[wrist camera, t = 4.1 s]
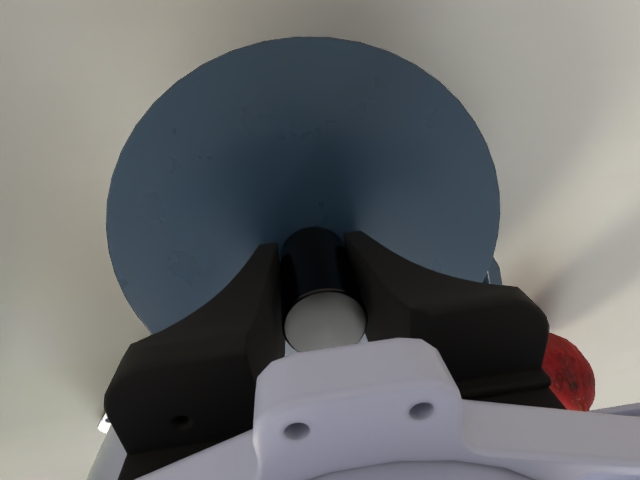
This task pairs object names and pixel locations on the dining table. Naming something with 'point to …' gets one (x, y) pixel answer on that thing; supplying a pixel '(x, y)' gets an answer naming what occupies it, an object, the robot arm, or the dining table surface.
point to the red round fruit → (569, 374)
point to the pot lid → (298, 183)
